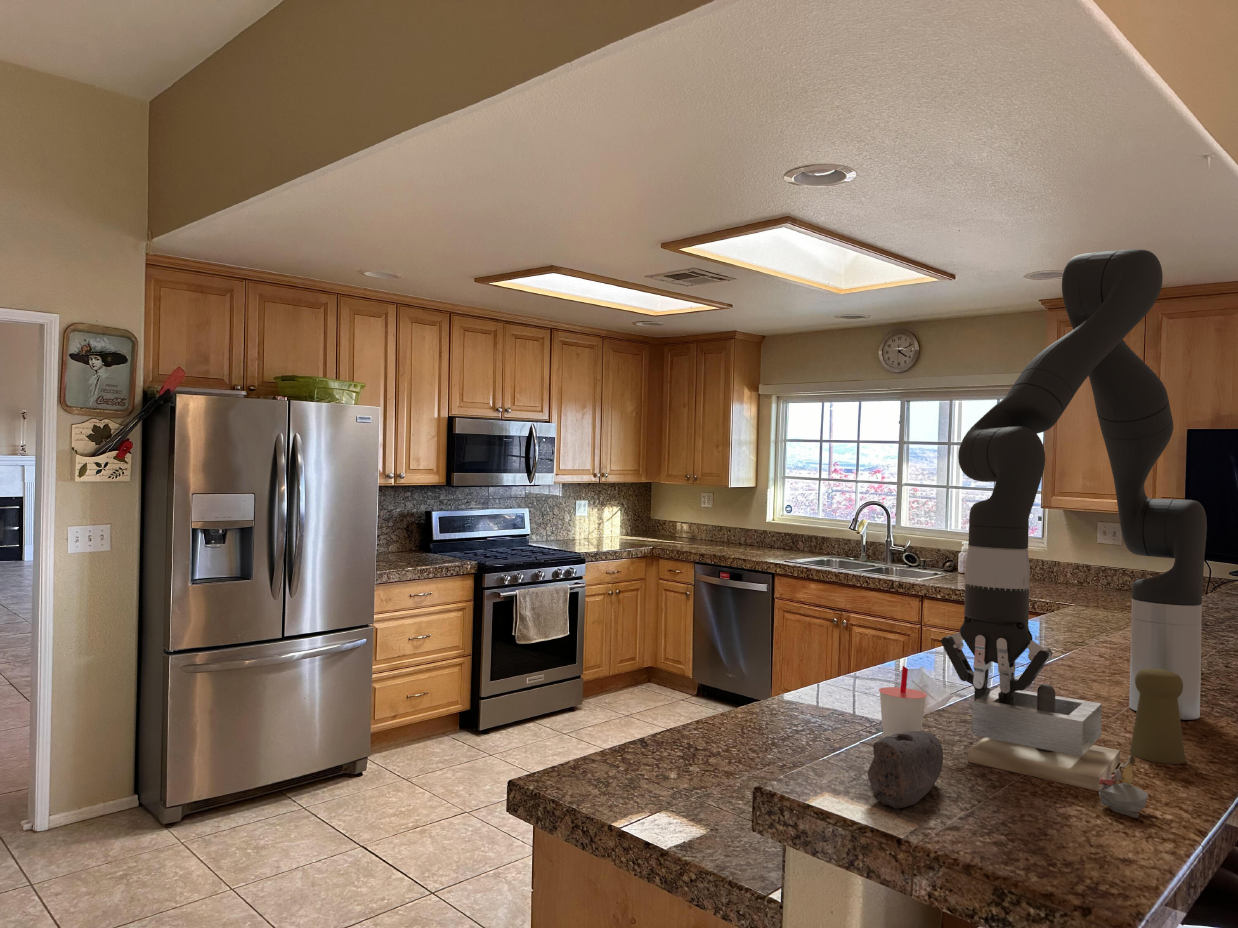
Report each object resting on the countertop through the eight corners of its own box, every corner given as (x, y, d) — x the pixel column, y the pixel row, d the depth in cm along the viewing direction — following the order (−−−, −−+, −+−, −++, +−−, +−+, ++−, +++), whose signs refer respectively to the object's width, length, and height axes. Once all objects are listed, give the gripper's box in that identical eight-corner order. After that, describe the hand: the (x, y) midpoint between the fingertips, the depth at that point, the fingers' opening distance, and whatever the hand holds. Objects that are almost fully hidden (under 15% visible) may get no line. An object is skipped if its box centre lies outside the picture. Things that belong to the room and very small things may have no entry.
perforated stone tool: (914, 774, 97) (916, 714, 97) (960, 786, 93) (962, 723, 94) (854, 807, 86) (856, 738, 86) (904, 822, 82) (906, 751, 83)
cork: (1194, 765, 104) (1196, 676, 105) (1140, 760, 105) (1142, 672, 106) (1172, 751, 110) (1174, 666, 110) (1122, 746, 111) (1124, 663, 112)
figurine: (1144, 824, 84) (1146, 764, 84) (1094, 813, 87) (1095, 754, 87) (1150, 809, 88) (1151, 752, 89) (1102, 799, 91) (1103, 743, 91)
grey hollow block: (998, 716, 112) (999, 686, 112) (1100, 735, 105) (1101, 703, 105) (971, 734, 103) (972, 701, 103) (1081, 756, 95) (1082, 721, 96)
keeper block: (999, 737, 113) (1001, 666, 113) (1119, 762, 104) (1121, 685, 105) (968, 761, 102) (970, 682, 103) (1098, 790, 93) (1100, 704, 94)
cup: (921, 764, 100) (924, 663, 101) (927, 779, 95) (930, 672, 96) (874, 759, 102) (877, 659, 102) (878, 773, 96) (881, 668, 97)
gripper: (1062, 586, 106) (1059, 724, 106) (951, 576, 115) (947, 703, 114) (1049, 590, 101) (1045, 736, 100) (932, 579, 109) (928, 713, 109)
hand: (993, 718), depth 107 cm, fingers closed on grey hollow block
